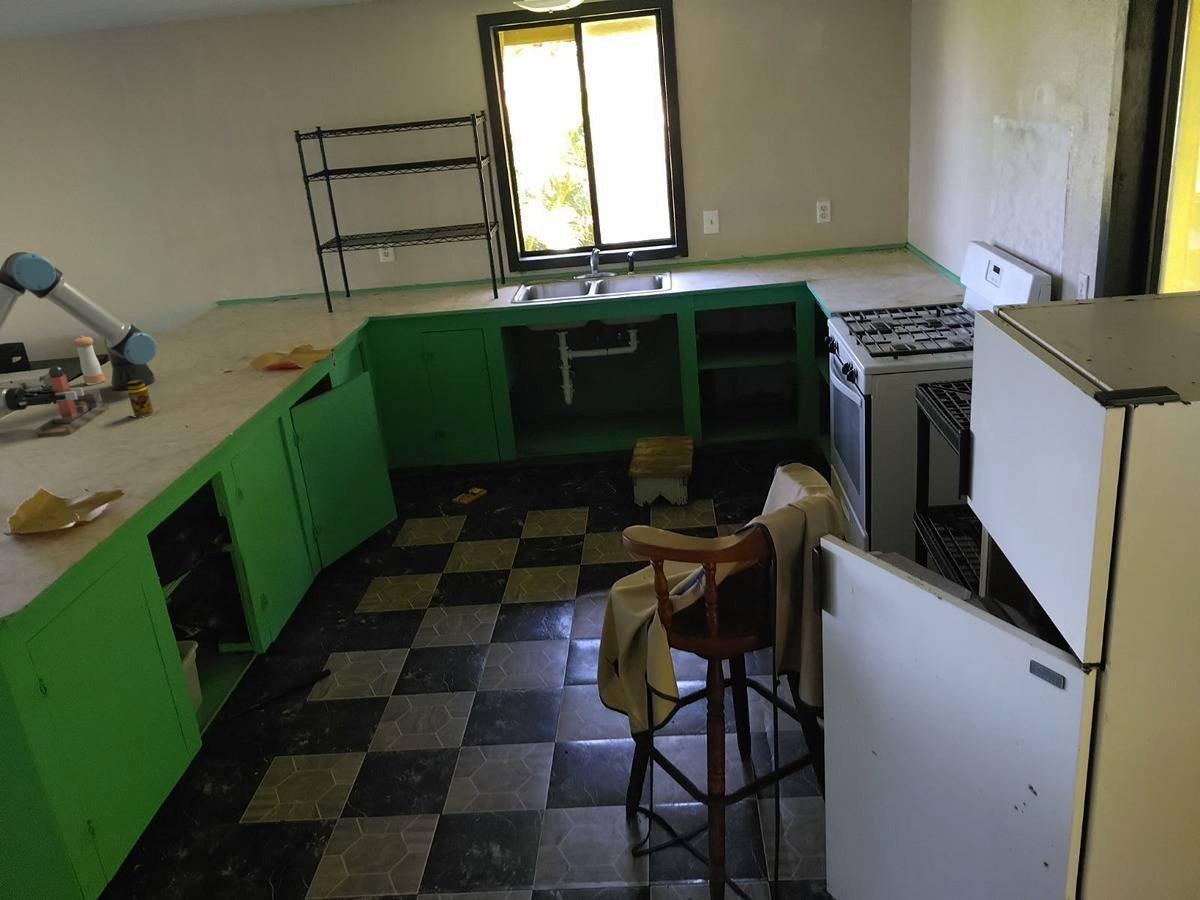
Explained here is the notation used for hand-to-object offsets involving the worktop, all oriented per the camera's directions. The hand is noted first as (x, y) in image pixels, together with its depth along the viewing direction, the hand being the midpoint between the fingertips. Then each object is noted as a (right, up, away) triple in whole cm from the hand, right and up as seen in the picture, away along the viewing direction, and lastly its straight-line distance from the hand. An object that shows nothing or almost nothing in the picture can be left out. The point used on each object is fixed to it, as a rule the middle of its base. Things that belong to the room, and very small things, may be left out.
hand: (79, 393), depth 315 cm
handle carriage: (-5, -8, +5) cm, 11 cm away
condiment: (+18, -7, +8) cm, 21 cm away
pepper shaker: (-24, +7, +55) cm, 61 cm away
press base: (-4, -10, +5) cm, 12 cm away
